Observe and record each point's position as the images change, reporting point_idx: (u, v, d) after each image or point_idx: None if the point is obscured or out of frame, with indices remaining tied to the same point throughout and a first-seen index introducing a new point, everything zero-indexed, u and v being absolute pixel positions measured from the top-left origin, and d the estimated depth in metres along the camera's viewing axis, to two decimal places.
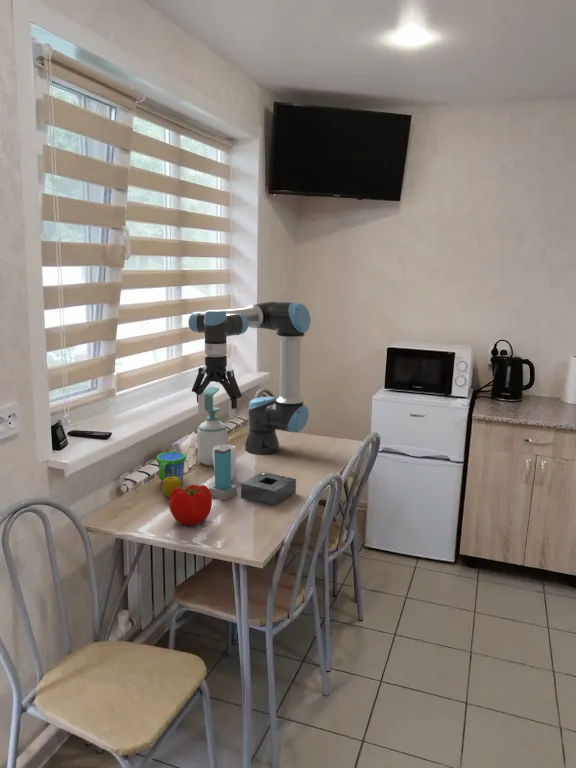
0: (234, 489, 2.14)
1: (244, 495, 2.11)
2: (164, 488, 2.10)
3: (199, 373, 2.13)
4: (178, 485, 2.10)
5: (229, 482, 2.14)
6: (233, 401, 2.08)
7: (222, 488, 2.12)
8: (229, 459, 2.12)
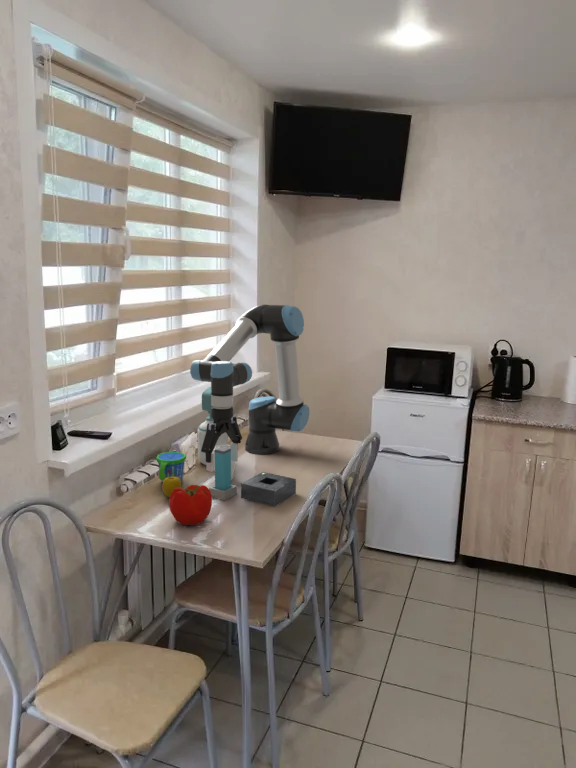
0: (234, 489, 2.14)
1: (244, 495, 2.11)
2: (164, 488, 2.10)
3: None
4: (178, 485, 2.10)
5: (229, 482, 2.14)
6: None
7: (222, 488, 2.12)
8: (229, 459, 2.12)
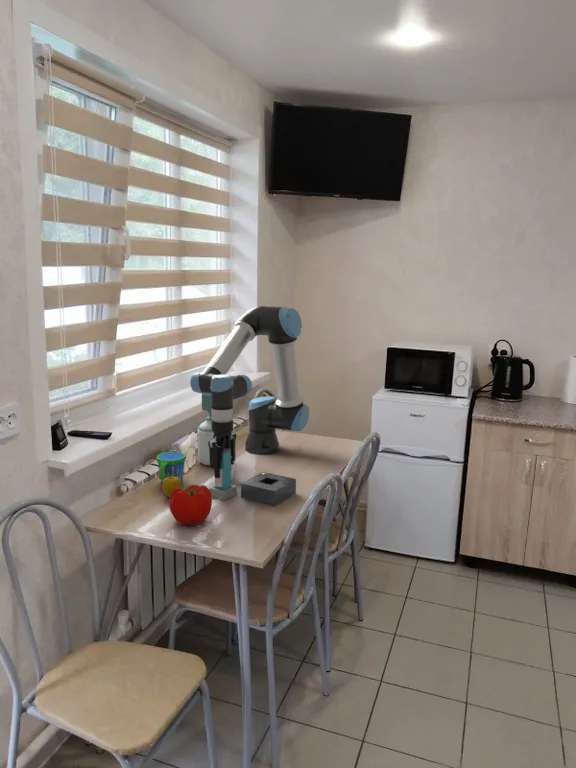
0: (234, 489, 2.14)
1: (244, 495, 2.11)
2: (164, 488, 2.10)
3: None
4: (178, 485, 2.10)
5: (229, 482, 2.14)
6: None
7: (222, 488, 2.12)
8: (229, 459, 2.12)
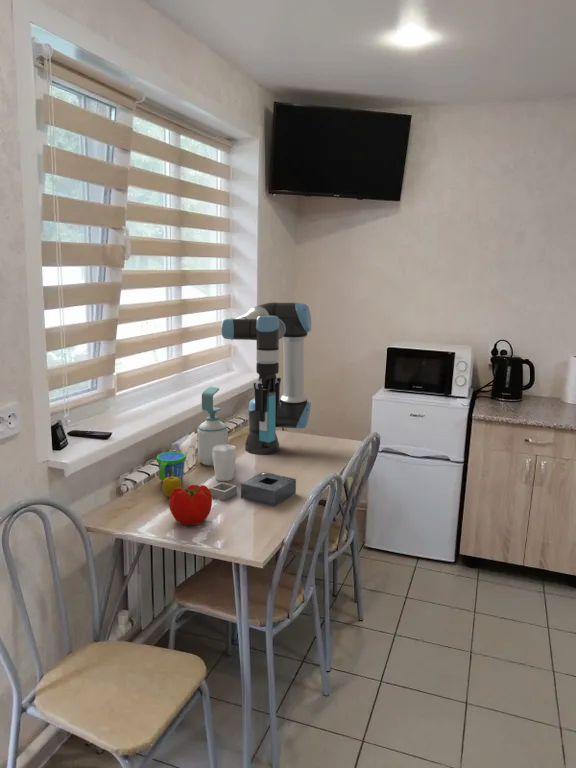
0: (234, 489, 2.14)
1: (244, 495, 2.11)
2: (164, 488, 2.10)
3: None
4: (178, 485, 2.10)
5: (273, 427, 2.09)
6: None
7: (267, 432, 2.07)
8: (274, 403, 2.08)
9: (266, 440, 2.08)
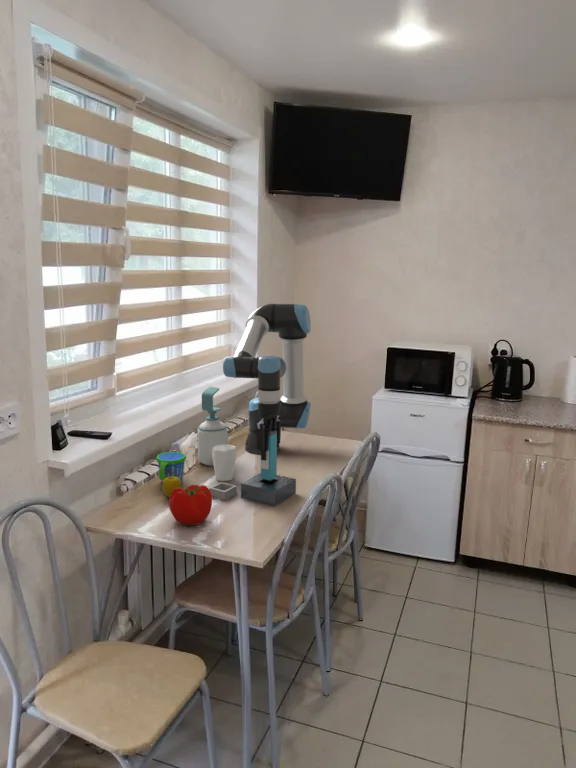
0: (234, 489, 2.14)
1: (244, 495, 2.11)
2: (164, 488, 2.10)
3: None
4: (178, 485, 2.10)
5: (275, 465, 2.12)
6: None
7: (268, 471, 2.10)
8: (275, 441, 2.10)
9: (268, 478, 2.10)
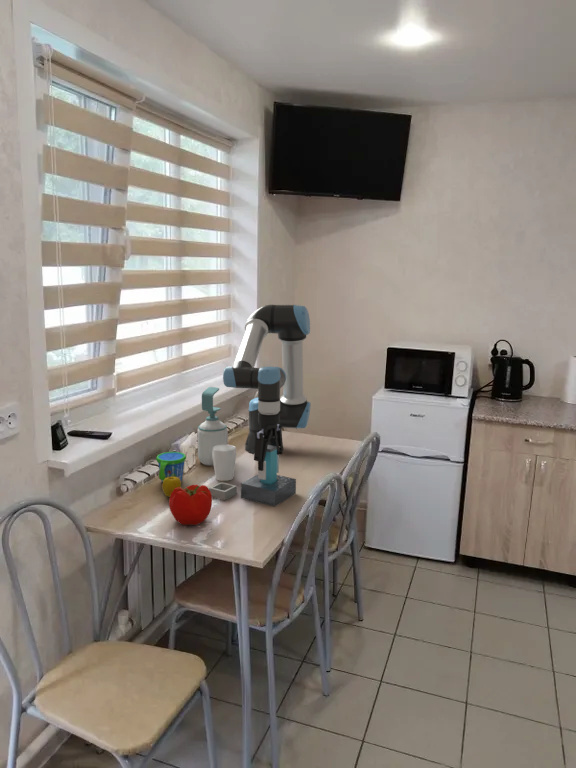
0: (234, 489, 2.14)
1: (244, 495, 2.11)
2: (164, 488, 2.10)
3: None
4: (178, 485, 2.10)
5: (275, 480, 2.13)
6: None
7: None
8: (275, 457, 2.11)
9: None
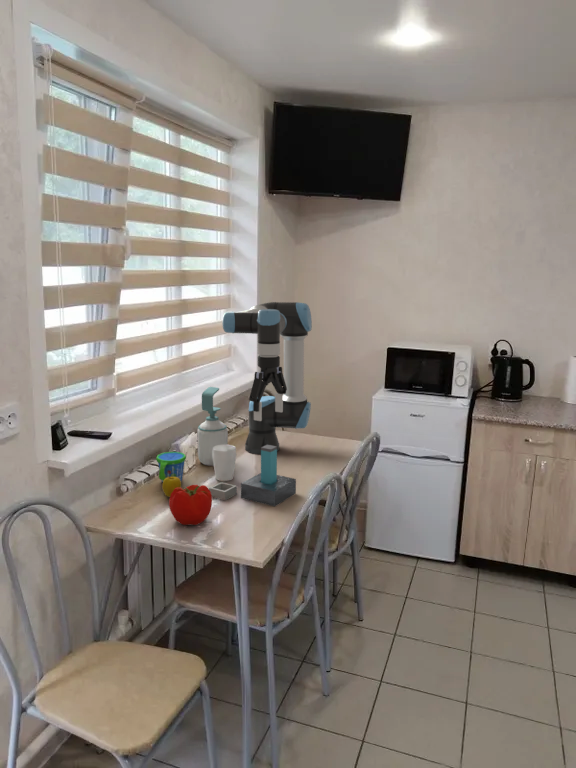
0: (234, 489, 2.14)
1: (244, 495, 2.11)
2: (164, 488, 2.10)
3: None
4: (178, 485, 2.10)
5: (275, 480, 2.13)
6: None
7: None
8: (275, 457, 2.11)
9: None
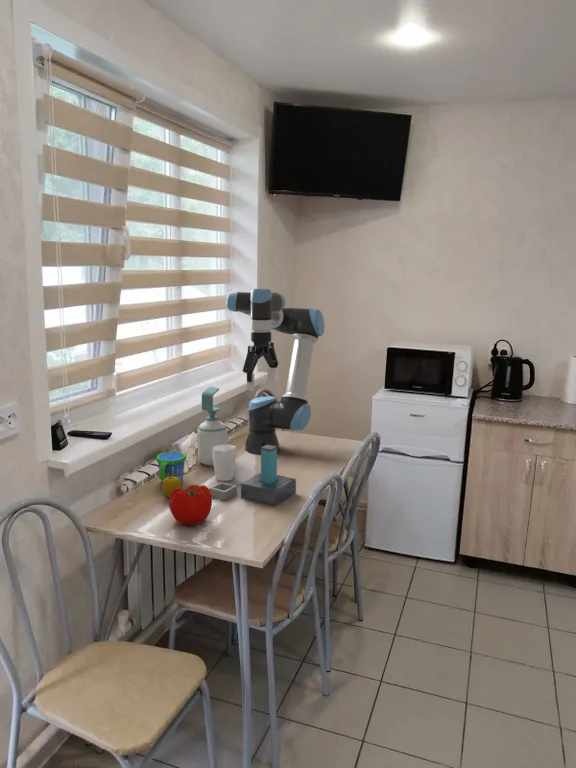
0: (234, 489, 2.14)
1: (244, 495, 2.11)
2: (164, 488, 2.10)
3: None
4: (178, 485, 2.10)
5: (275, 480, 2.13)
6: None
7: None
8: (275, 457, 2.11)
9: None
